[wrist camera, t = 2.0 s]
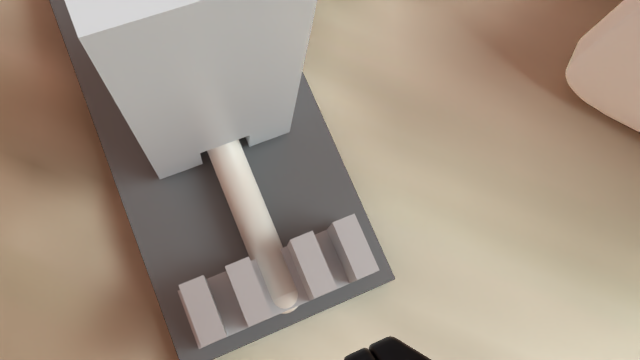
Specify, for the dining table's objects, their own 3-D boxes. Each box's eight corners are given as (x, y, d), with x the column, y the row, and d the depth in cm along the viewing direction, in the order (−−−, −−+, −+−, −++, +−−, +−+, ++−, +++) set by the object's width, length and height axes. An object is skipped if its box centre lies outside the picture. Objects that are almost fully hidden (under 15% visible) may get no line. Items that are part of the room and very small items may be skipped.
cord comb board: (390, 280, 22) (418, 270, 18) (186, 370, 20) (172, 379, 16) (163, -229, 26) (149, -318, 23) (-17, -190, 25) (-63, -280, 21)
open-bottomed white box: (289, 132, 22) (324, -37, 12) (159, 179, 20) (78, 37, 11) (240, 18, 22) (234, -228, 13) (114, 58, 21) (0, -175, 12)
